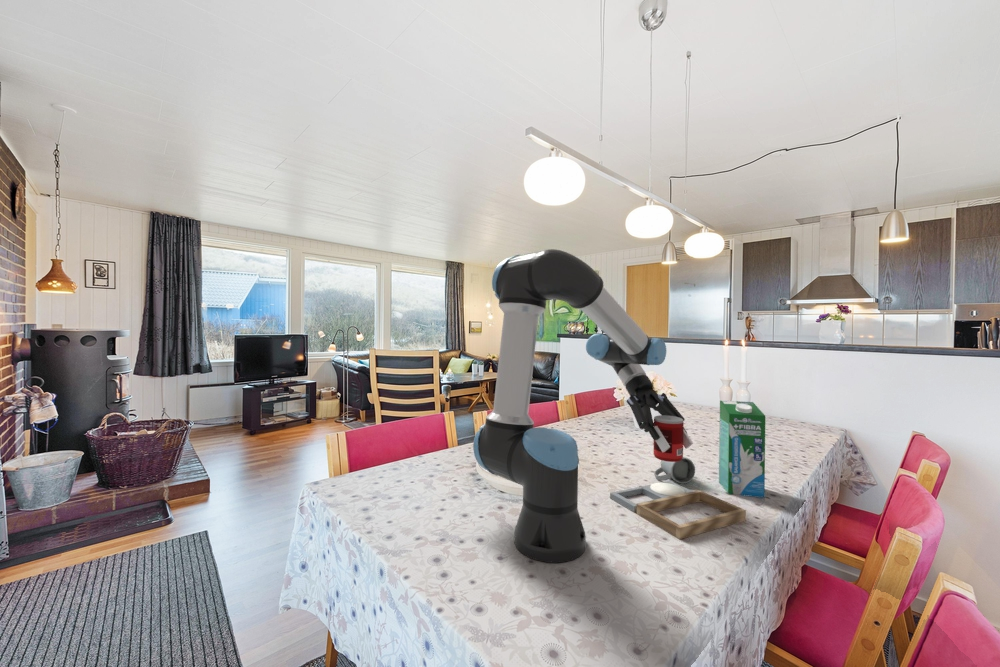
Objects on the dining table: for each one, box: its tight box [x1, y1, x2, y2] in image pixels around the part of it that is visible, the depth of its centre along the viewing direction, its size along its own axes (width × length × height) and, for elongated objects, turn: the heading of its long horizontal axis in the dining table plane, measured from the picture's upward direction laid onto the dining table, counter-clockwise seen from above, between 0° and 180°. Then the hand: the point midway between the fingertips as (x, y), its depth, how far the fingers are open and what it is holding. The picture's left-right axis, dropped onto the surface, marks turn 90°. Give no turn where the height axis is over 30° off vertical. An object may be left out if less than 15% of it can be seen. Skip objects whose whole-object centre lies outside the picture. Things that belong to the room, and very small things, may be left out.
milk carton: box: [718, 400, 766, 498], centre depth 114 cm, size 9×9×25 cm
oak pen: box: [636, 489, 747, 540], centre depth 97 cm, size 22×13×2 cm, turn 114°
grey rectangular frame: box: [609, 480, 694, 513], centre depth 108 cm, size 22×9×2 cm, turn 114°
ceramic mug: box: [653, 456, 696, 484], centre depth 122 cm, size 11×8×8 cm
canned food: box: [653, 414, 685, 462], centre depth 110 cm, size 8×8×11 cm
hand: (678, 447), depth 107 cm, fingers closed on canned food, 8 cm apart
